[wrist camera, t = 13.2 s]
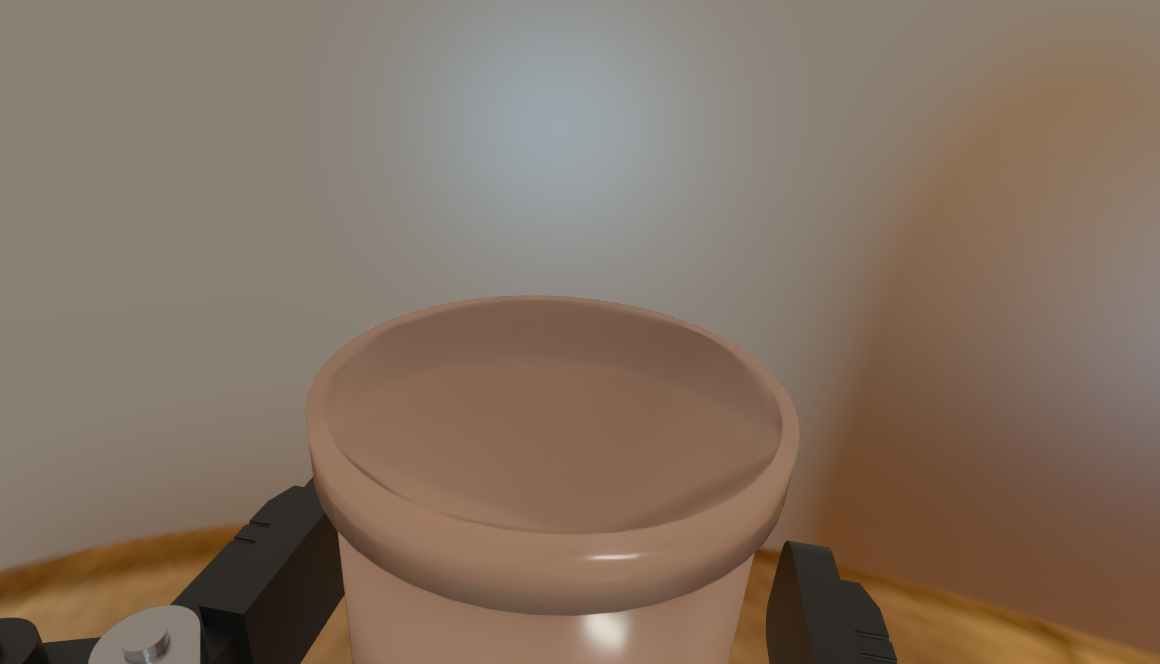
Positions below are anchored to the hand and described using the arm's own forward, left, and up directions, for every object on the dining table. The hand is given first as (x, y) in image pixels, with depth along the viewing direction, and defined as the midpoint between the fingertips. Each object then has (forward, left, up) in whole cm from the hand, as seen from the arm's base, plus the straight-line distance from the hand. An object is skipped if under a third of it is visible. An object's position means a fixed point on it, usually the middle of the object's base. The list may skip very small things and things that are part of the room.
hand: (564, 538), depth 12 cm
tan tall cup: (+1, +1, -10) cm, 10 cm away
